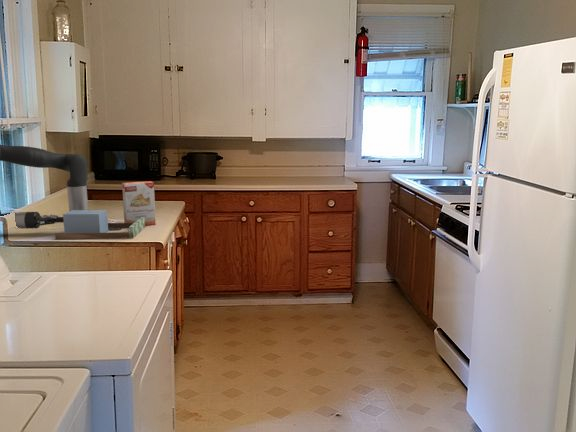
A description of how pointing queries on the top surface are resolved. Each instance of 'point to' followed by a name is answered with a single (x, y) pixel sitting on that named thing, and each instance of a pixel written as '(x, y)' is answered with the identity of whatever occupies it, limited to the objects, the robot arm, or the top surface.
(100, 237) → the tray
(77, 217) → the slate block
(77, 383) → the top surface
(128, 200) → the cracker box
